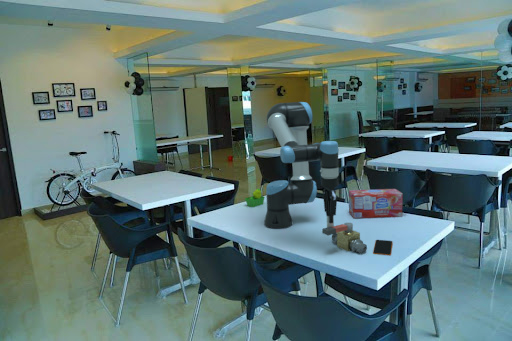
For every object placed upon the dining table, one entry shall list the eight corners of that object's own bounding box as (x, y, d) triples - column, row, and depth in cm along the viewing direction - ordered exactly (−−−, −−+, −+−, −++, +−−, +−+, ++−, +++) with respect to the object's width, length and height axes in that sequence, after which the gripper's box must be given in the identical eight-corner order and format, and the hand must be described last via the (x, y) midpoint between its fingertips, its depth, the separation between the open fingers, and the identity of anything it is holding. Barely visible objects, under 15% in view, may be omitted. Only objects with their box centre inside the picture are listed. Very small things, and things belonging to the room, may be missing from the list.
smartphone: (372, 254, 169) (372, 253, 169) (375, 241, 185) (375, 239, 184) (391, 256, 167) (391, 254, 166) (392, 242, 182) (392, 240, 182)
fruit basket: (257, 202, 260) (256, 185, 258) (267, 204, 254) (266, 187, 251) (244, 206, 252) (243, 188, 250) (254, 208, 246) (253, 190, 244)
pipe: (329, 245, 184) (329, 228, 182) (341, 241, 187) (340, 225, 186) (356, 257, 168) (356, 239, 167) (368, 254, 172) (369, 235, 170)
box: (395, 210, 229) (395, 187, 227) (403, 217, 216) (403, 193, 214) (348, 212, 230) (348, 189, 227) (353, 219, 217) (353, 195, 215)
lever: (322, 236, 171) (322, 228, 171) (348, 229, 179) (348, 222, 178) (327, 239, 168) (327, 230, 168) (354, 232, 176) (354, 224, 175)
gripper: (316, 175, 177) (317, 225, 181) (326, 180, 164) (327, 234, 168) (332, 173, 178) (333, 224, 182) (343, 179, 165) (343, 233, 169)
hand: (330, 229), depth 175 cm, fingers closed
